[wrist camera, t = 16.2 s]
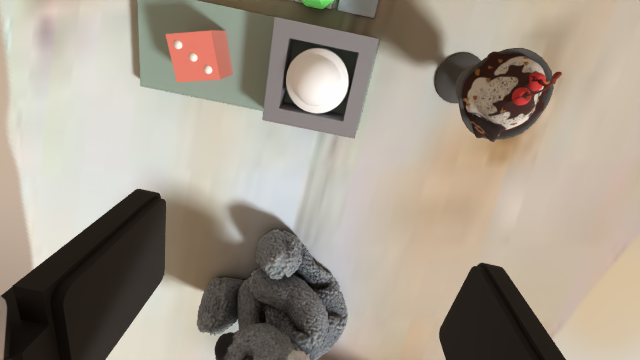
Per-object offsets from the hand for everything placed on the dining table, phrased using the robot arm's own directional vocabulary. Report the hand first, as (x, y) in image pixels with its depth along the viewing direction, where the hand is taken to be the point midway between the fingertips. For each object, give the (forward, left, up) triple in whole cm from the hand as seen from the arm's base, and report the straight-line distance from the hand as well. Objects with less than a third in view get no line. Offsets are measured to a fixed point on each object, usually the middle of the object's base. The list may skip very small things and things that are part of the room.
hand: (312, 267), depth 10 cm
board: (-2, -8, -28) cm, 29 cm away
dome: (-2, -2, -25) cm, 25 cm away
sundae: (-5, +12, -28) cm, 31 cm away
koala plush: (+27, -1, -28) cm, 39 cm away
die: (-2, -13, -26) cm, 29 cm away
